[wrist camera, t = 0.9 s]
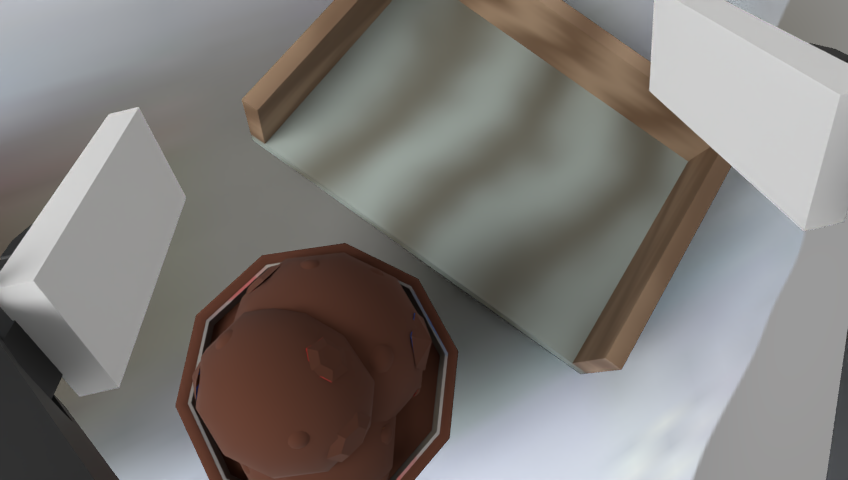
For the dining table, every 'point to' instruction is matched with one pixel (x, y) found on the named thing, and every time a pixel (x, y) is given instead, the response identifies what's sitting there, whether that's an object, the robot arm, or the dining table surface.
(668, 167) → the bay
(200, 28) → the dining table surface
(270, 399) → the ice cream bowl
